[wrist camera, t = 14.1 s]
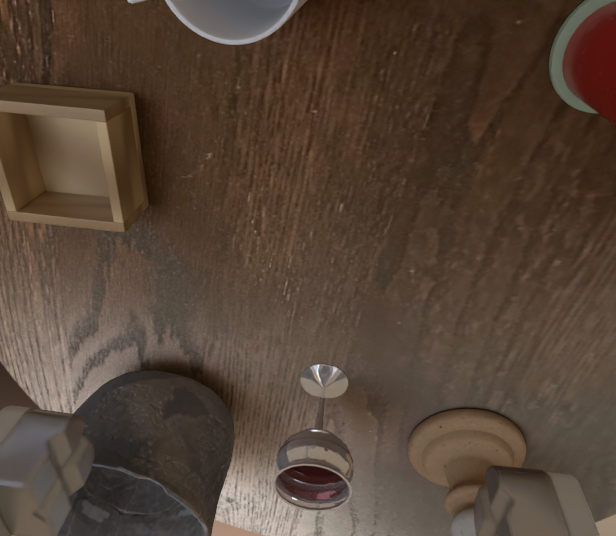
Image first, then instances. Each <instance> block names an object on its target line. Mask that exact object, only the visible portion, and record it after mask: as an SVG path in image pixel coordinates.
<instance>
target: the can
mask: <svg viewBox="0 0 616 536" xmlns="http://www.w3.org/2000/svg"><path fill="white" fill-rule="evenodd" d="M562 72H563V78H564V81H565V83H566V85H567V87H568V89H569V90H570V92H571V93H572V94H573V95H574V96H576V97H577V98H578V99H580V100H581V101H582V102H584V103H585V104H587V105H588V106H589V107H591V108H592V109H594V110H595V111H596V112H598V113H599V114H600V115H602V116H603V117H605V118H606V119H607V120H609V121H610V122H612V123H613V124H614V125H616V1H614V2H611V3H609V4H606V5H604V6H603V7H601V8H599V9H597V10H596V11H594V12H593V13H592V14H591V15H589V16H588V17H587V18H586V19H585V20H584V21H583V22H582V23H581V24H580V25H579V26H578V28H577V29H576V30H575V32H574V33H573V35H572V36H571V38H570V40H569V42H568V44H567V46H566V49H565V52H564V56H563V62H562Z"/></svg>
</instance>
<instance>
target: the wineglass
mask: <svg viewBox="0 0 616 536" xmlns="http://www.w3.org/2000/svg"><path fill="white" fill-rule="evenodd" d="M301 384H302V386H303V388H304V389H305V390H306V391H307V392H308V393H309V394H311V395H313V396H316V397H319V398H320V401H319V407H318V412H317V418H316V424H315V428H309V429H305V430H302V431H300V432H298V433H296V434H293V435H291V436H290V437H289V438H288V439H287V440H286V441H285V442H284V443H283V445H282V446H281V448H280V450H279V453H278V455H277V459H276V471H277V474H276V475H275V477H274V479H273V489H274V491H275V492H276V494H277V495H278V497H280V498H281V499H282V500H283V501H285V502H286V503H288V504H290V505H292V506H294V507H296V508H300V509H303V510H307V511H319V512H320V511H330V510H334V509H337V508H340V507H342V506H343V505H344V504H346V503H347V502H348V501H349V499H350V497H351V496H352V488H351V485H350V482H351V480H352V477H353V460H352V456H351V454H350V451H349V449H348V447H347V445H346V444H345V443H344V442H343V441H342V440H341V439H339V438H338V437H337V436H336V435H334V434H333V433H331V432H329V431H327V430H324V429H323V419H324V402H325V398H334V397H337V396H339V395H342V394H343V393H344V392H345V391H346V389H347V387H348V379H347V377H346V375H345V374H344V373H343V372H342V371H341V370H340V369H338V368H336V367H334V366H330V365H325V364H318V365H313V366H311V367H309V368H307V369H306V370H305V371H304V372H303V373H302V375H301Z"/></svg>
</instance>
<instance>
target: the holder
mask: <svg viewBox="0 0 616 536" xmlns="http://www.w3.org/2000/svg"><path fill="white" fill-rule="evenodd" d="M0 190H1V193H2V196H3V199H4V203H5V206H6V209H7V212H8V216H9V219H10V220H16V221H25V222H34V223H43V224H52V225H61V226H70V227H79V228H88V229H97V230H106V231H115V232H124V233H125V232H126V231H127V230H128V229H129V228H130V227H131V225H132V224H133V223H134V222H135V221H136V220H137V219H138V217H139V216H140V215H141V214H142V213H143V212H144V211H145V209H146V208H147V207H148V206H149V202H148V195H147V187H146V180H145V173H144V165H143V158H142V151H141V143H140V136H139V128H138V121H137V114H136V106H135V99H134V93H130V92H119V91H108V90H97V89H86V88H75V87H65V86H54V85H43V84H32V83H21V82H14V83H11V84H8V85H5V86H2V87H0Z"/></svg>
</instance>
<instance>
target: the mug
mask: <svg viewBox="0 0 616 536" xmlns="http://www.w3.org/2000/svg"><path fill="white" fill-rule="evenodd" d="M127 1H128V2H130V3H132V4H133V3H138V2H143V1H147V0H127ZM165 1H166V3H167V4H168V6H169V7H170V9H171V10H172V11H173V12H174V14H175V15H176V16H177V17H178V18H179V19H180V20H181V21H182V22H183V23H184V24H185V25H186V26H187V27H189V28H190V29H191V30H193V31H194V32H196V33H197V34H199V35H201V36H202V37H205V38H207V39H209V40H212V41H215V42H218V43H222V44H229V45H242V44H248V43H253V42H256V41H259V40H261V39H263V38H265V37H267V36H269V35H270V34H272V33H273V32H275V31H276V30H277V29H278V28H280V27H281V26H282V25H283V24H284V23H286V22H287V21H288V20H289V19H290V18H291V17H292V15H293V14H294V13H295V12H296V11H297V10H298V9H299V8H300V7H301V6H302V5H303V4H304V3H305V2H306V1H307V0H165Z"/></svg>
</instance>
